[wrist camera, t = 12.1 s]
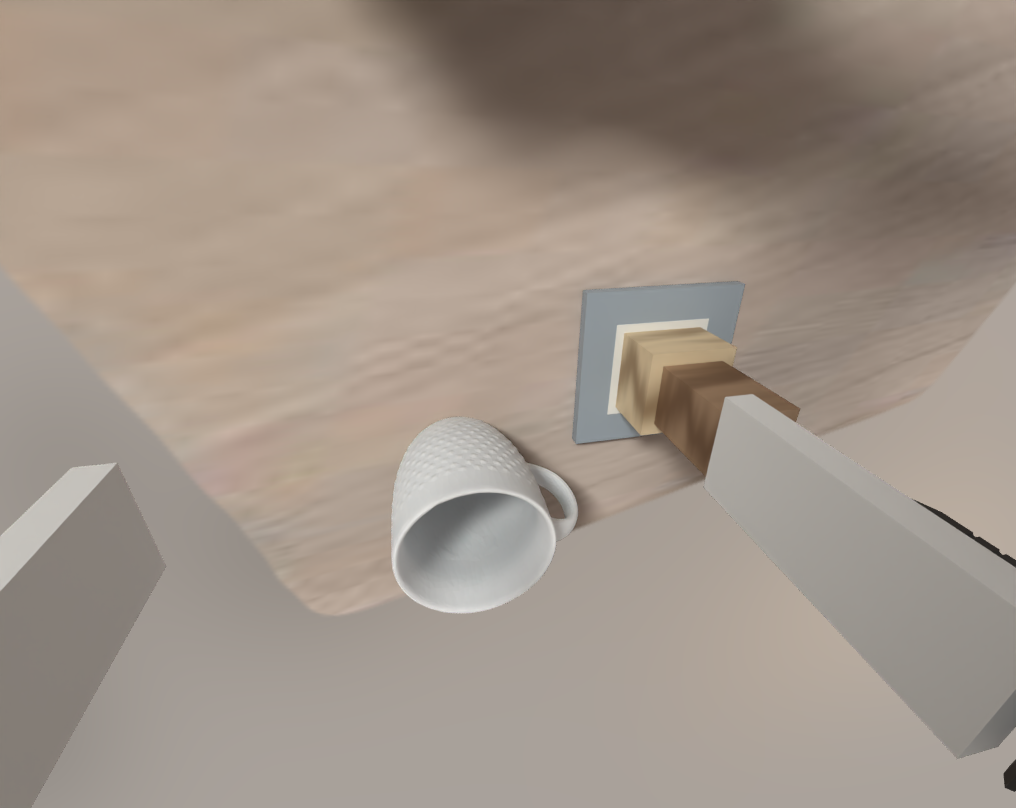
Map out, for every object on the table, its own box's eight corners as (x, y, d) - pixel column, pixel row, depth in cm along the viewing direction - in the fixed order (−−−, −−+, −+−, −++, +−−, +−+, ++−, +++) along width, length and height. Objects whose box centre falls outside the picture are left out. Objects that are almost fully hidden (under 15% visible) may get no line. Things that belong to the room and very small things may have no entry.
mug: (568, 408, 43) (631, 499, 31) (535, 504, 47) (579, 614, 36) (402, 385, 38) (405, 481, 27) (383, 494, 43) (379, 615, 31)
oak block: (624, 332, 39) (653, 354, 35) (700, 327, 40) (737, 347, 36) (615, 407, 42) (640, 435, 38) (685, 399, 43) (718, 426, 39)
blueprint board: (583, 290, 38) (587, 293, 37) (737, 281, 40) (745, 284, 39) (572, 438, 44) (576, 444, 43) (705, 422, 47) (712, 427, 46)
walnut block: (663, 366, 35) (728, 417, 28) (722, 360, 36) (800, 408, 29) (654, 423, 38) (712, 483, 31) (710, 417, 39) (779, 473, 32)
